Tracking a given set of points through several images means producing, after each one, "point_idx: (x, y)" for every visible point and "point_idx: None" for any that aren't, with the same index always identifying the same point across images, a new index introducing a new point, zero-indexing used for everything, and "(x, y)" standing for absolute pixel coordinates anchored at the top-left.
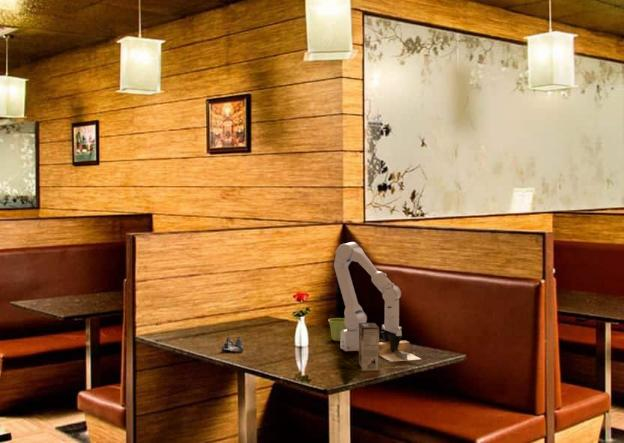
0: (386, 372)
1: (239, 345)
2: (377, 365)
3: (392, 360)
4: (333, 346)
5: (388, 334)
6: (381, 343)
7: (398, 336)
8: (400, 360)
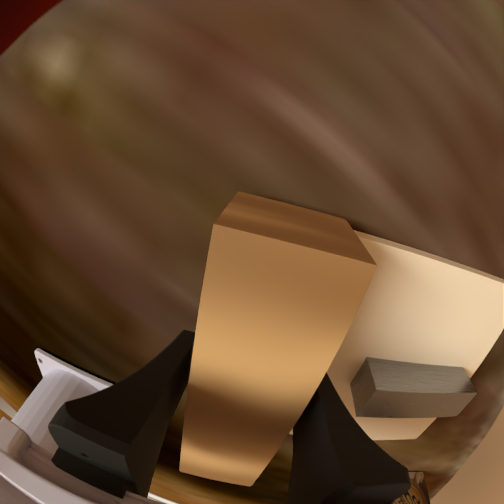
0: (454, 460)
1: None
2: (423, 486)
3: (411, 429)
4: (22, 388)
5: (147, 464)
6: (228, 466)
7: (382, 499)
8: None
